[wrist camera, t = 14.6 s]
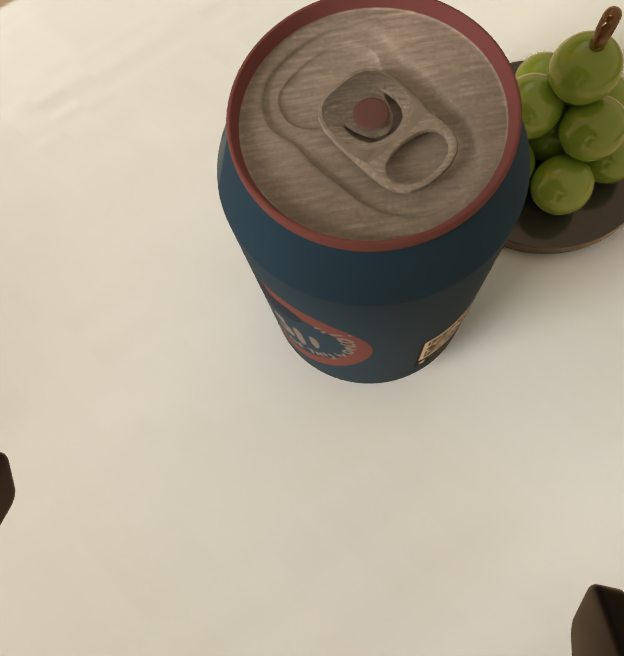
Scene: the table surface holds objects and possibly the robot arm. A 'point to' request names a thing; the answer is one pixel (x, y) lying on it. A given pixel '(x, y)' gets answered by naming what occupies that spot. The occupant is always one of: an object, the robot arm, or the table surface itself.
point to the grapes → (573, 142)
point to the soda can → (373, 177)
